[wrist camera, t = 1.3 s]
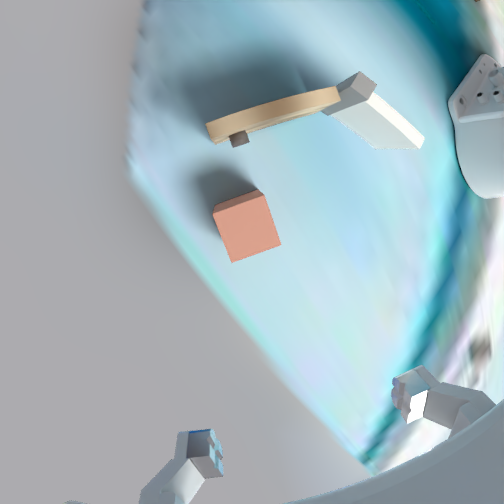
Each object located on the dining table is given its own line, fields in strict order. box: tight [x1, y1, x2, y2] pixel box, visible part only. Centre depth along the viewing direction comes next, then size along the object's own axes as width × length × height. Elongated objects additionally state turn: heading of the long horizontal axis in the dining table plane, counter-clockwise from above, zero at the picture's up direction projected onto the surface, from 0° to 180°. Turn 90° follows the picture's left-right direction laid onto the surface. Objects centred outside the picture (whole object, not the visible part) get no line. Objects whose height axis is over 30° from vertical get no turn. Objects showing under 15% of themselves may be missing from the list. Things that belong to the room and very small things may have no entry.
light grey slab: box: [320, 71, 425, 149], centre depth 22 cm, size 2×8×9 cm, turn 59°
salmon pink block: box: [212, 190, 281, 263], centre depth 26 cm, size 4×4×5 cm
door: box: [205, 86, 341, 148], centre depth 22 cm, size 10×2×7 cm, turn 109°
